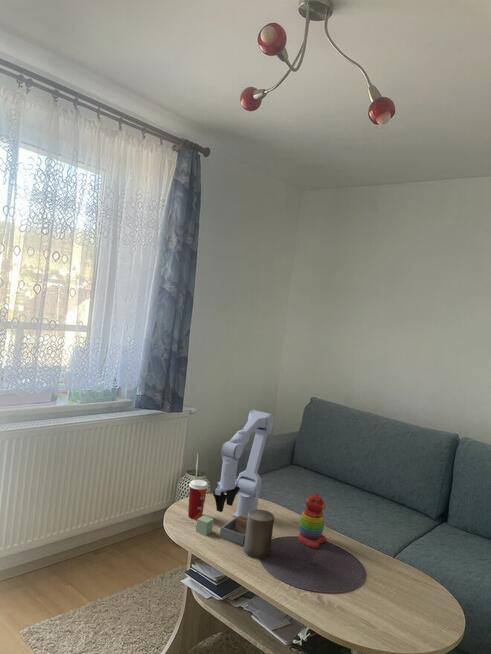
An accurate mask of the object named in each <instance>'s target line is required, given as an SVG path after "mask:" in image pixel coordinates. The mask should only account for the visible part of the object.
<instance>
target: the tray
mask: <svg viewBox="0 0 491 654" xmlns="http://www.w3.org/2000/svg"><path fill="white" fill-rule="evenodd" d="M238 517H239V516H237V517H235V516H234V518H233V519H231V520H229V521H227V523H225V524H223V525H222V526H220V531H219V538H220V539H222V540H224V541H227V542H230V543H233V544H235V545H237V546H240V547H243V548H244V543H245V535H246V533H245V534H242V533H239V532H236V531H235V525H236V518H238Z"/></svg>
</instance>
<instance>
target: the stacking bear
mask: <svg viewBox="0 0 491 654" xmlns="http://www.w3.org/2000/svg"><path fill="white" fill-rule="evenodd" d="M305 507H306V508H304V510H303V511H302V513H301V516H300V518H299V534H298V537H297V539H298V541H299V542H300V543H301V544H305V545H304V546H306V545H307V546H306V547H308V546H310V547H312V548H311V549H313V548H317V549H319V548H320V543H321V544H324V543H323V542H325V543H326V542H327V537H326V536H325V535H324V534H323V531H324V527H325V521H324V512H323V511H324V510H325V508H326V504H325V502H324V500H323V498H322V497H321V496H320V495H319V493H315V494H313V495H312V494H311V495H309V496H308V497H307V498H306V500H305ZM310 547H309V548H310ZM318 547H319V548H318Z"/></svg>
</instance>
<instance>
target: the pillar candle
mask: <svg viewBox="0 0 491 654" xmlns="http://www.w3.org/2000/svg"><path fill="white" fill-rule="evenodd" d="M274 521H275V515H274V513H272V512H270V511H268V510H266V509H265V510H264V509H258V508H257V509H255V510H251V511H249V512H248V518H247V526H246V535H245V543H244V546H243V552H244V553H245V555H246V556H248V557H250V558H254V559H266V558H268V557H269V556H271V548H272V547H271V546H272V538H273V530H274Z"/></svg>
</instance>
